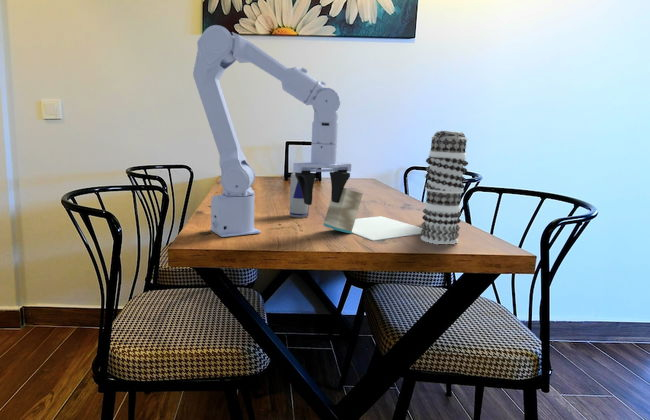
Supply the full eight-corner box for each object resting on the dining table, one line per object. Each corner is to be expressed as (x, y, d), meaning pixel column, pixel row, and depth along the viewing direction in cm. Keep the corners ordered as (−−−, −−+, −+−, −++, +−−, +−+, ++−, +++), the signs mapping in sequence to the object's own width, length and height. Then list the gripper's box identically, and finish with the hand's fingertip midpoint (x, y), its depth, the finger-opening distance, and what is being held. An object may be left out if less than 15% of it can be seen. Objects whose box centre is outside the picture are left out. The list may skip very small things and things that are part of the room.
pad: (373, 240, 91) (373, 240, 91) (324, 222, 107) (324, 222, 107) (433, 232, 102) (433, 231, 102) (381, 216, 118) (381, 216, 118)
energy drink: (307, 218, 112) (309, 175, 110) (288, 217, 112) (289, 174, 110) (309, 214, 117) (310, 173, 115) (290, 213, 117) (291, 172, 115)
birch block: (335, 229, 94) (347, 188, 94) (323, 225, 98) (334, 185, 98) (351, 233, 97) (362, 193, 97) (339, 229, 101) (350, 190, 101)
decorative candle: (418, 242, 91) (428, 130, 87) (419, 233, 100) (429, 130, 95) (460, 247, 89) (473, 131, 84) (458, 237, 98) (469, 132, 93)
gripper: (305, 143, 84) (303, 208, 86) (360, 145, 92) (357, 204, 94) (289, 142, 90) (287, 202, 92) (342, 143, 98) (339, 199, 100)
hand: (321, 203), depth 94 cm, fingers open, 7 cm apart
